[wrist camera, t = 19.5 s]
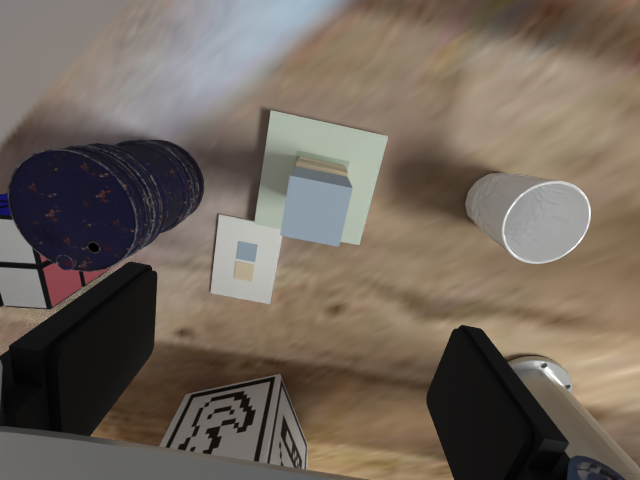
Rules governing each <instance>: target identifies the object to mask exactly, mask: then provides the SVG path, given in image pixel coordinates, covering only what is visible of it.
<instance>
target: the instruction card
mask: <svg viewBox="0 0 640 480" xmlns="http://www.w3.org/2000/svg"><path fill="white" fill-rule="evenodd" d="M280 232H281V229H276V228H271V227H266V226H261V225H256V224H254V221H252V220H247V219H242V218H237V217H232V216H227V215H222V214H219V220H218V229H217V238H216V247H215V256H214V265H213V274H212V284H211V293H213V294H218V295H223V296H229V297H234V298H239V299H244V300H250V301H255V302H260V303H266V304H270V302H271V296H272V291H273V285H274V279H275V274H276V268H277V263H278V257H279V252H280V246H281V241H282V236H280Z"/></svg>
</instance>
